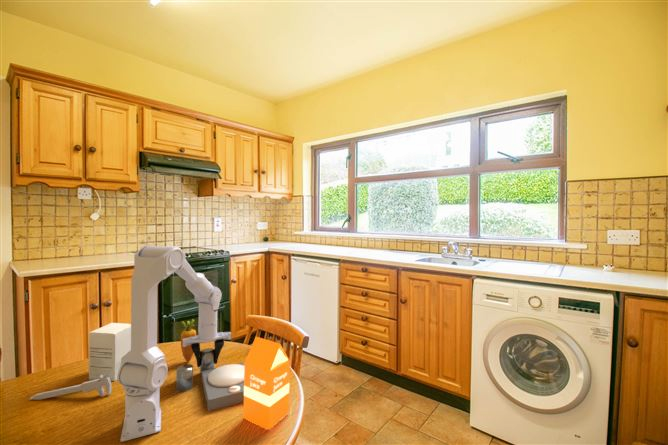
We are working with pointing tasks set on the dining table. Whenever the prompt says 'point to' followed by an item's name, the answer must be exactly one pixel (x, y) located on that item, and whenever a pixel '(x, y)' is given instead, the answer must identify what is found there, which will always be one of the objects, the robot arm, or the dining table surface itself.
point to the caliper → (80, 388)
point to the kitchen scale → (224, 386)
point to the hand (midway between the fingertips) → (207, 364)
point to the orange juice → (266, 383)
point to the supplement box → (108, 349)
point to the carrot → (186, 334)
